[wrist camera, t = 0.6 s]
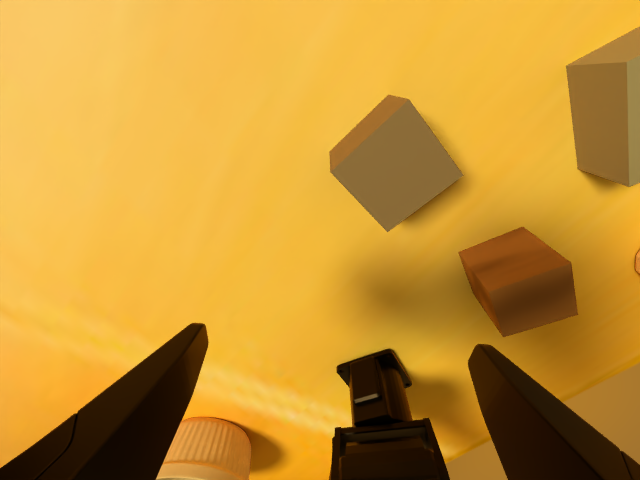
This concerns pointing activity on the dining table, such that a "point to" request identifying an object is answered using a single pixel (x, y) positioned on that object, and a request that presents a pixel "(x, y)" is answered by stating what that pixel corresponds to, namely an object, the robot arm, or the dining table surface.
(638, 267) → the white cup
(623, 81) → the base block
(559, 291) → the walnut block
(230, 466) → the ramekin
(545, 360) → the dining table surface
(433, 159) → the brown block
